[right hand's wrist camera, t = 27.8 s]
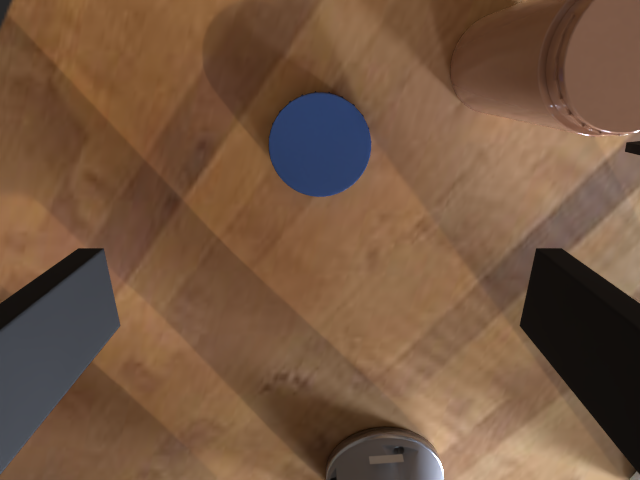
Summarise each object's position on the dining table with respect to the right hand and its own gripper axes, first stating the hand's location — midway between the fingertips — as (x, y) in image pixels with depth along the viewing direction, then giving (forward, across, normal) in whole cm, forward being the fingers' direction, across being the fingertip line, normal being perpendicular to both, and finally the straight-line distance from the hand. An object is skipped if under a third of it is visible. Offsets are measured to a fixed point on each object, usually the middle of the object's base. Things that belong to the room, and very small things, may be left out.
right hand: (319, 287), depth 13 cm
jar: (+28, +16, +7) cm, 33 cm away
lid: (+26, 0, 0) cm, 26 cm away
